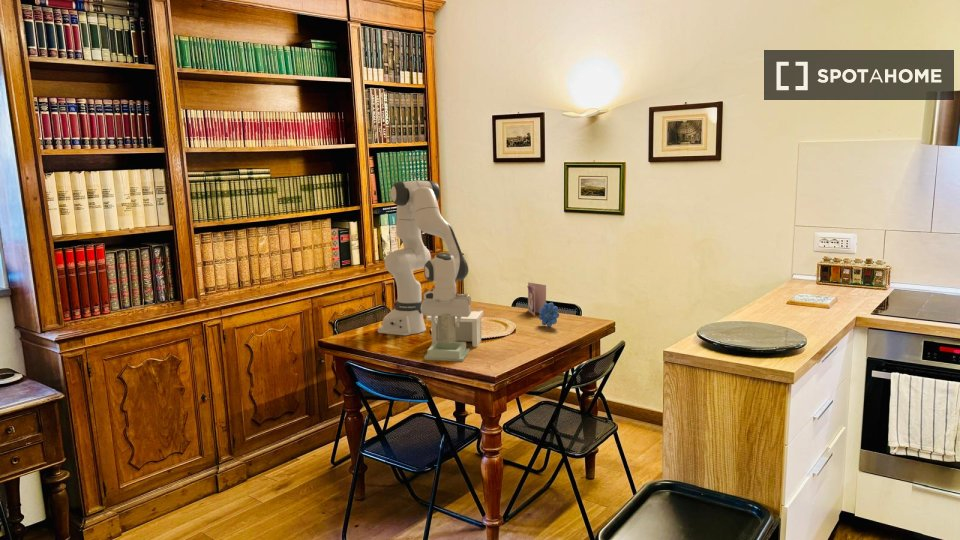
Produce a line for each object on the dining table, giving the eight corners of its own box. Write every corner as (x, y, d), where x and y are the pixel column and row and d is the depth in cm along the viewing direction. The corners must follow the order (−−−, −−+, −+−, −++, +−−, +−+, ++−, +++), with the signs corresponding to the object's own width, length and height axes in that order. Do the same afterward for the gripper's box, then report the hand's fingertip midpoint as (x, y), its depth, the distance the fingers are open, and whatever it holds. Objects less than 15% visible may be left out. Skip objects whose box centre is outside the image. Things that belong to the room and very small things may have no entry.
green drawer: (424, 359, 278) (423, 350, 278) (432, 349, 292) (432, 340, 291) (462, 361, 275) (462, 351, 275) (469, 350, 289) (469, 341, 288)
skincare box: (455, 341, 282) (455, 313, 280) (448, 344, 279) (448, 315, 277) (444, 339, 286) (444, 310, 284) (437, 341, 283) (437, 312, 281)
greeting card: (526, 310, 355) (526, 282, 352) (540, 309, 357) (540, 281, 354) (533, 316, 344) (533, 286, 341) (547, 315, 346) (547, 286, 343)
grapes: (564, 327, 323) (564, 302, 321) (555, 330, 318) (555, 304, 316) (544, 322, 331) (544, 298, 329) (535, 325, 326) (535, 301, 324)
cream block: (427, 347, 294) (426, 317, 292) (435, 338, 308) (434, 309, 305) (477, 349, 290) (477, 318, 288) (483, 340, 304) (483, 310, 301)
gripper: (472, 292, 280) (472, 325, 282) (423, 291, 284) (424, 323, 286) (469, 295, 274) (469, 329, 276) (419, 294, 278) (420, 327, 280)
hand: (446, 326), depth 281 cm, fingers closed on skincare box, 7 cm apart
